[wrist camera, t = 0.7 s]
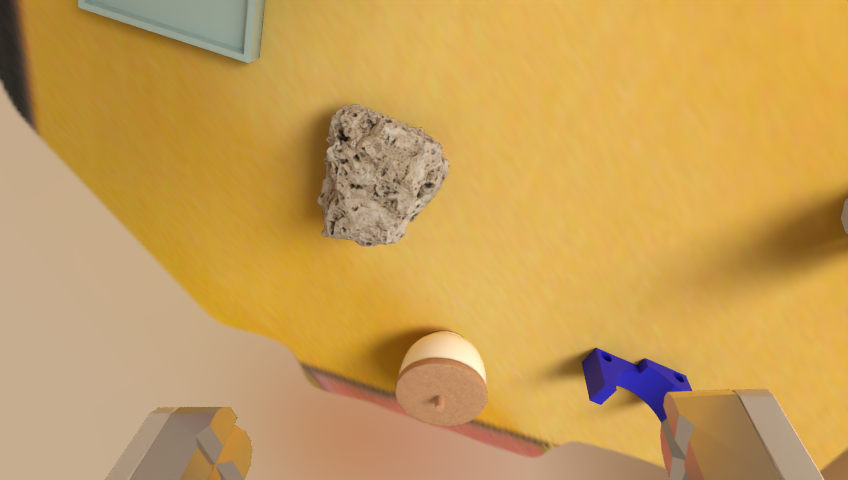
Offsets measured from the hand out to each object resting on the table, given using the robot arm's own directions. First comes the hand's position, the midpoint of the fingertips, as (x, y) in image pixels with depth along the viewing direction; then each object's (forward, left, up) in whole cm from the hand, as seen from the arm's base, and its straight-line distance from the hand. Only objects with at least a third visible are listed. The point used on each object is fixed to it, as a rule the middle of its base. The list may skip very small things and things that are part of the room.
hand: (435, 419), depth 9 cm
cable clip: (+32, +32, -40) cm, 61 cm away
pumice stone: (+15, -5, -40) cm, 43 cm away
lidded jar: (+37, +9, -40) cm, 56 cm away
